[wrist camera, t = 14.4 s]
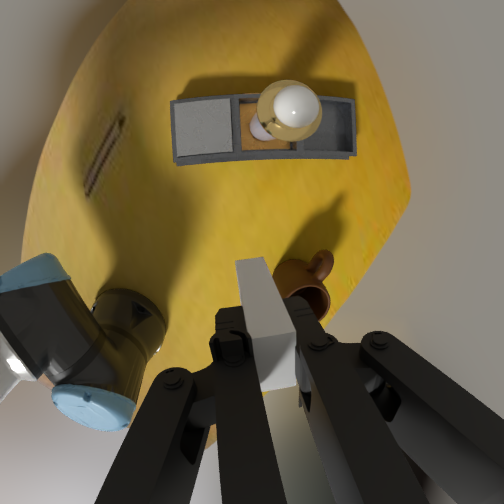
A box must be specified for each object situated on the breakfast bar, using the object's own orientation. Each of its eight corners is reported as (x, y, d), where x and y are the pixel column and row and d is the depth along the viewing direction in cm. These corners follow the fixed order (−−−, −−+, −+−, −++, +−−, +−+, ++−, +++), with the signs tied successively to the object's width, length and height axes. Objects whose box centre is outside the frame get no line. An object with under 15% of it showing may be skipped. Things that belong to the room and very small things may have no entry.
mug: (295, 227, 43) (312, 247, 34) (333, 244, 45) (356, 267, 36) (262, 289, 46) (271, 320, 38) (300, 302, 48) (314, 333, 39)
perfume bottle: (271, 152, 37) (315, 154, 19) (237, 132, 36) (248, 113, 17) (291, 120, 36) (351, 96, 17) (257, 100, 34) (287, 54, 16)
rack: (178, 165, 38) (171, 167, 33) (174, 101, 34) (167, 95, 29) (345, 159, 40) (360, 161, 35) (343, 99, 36) (358, 94, 31)
